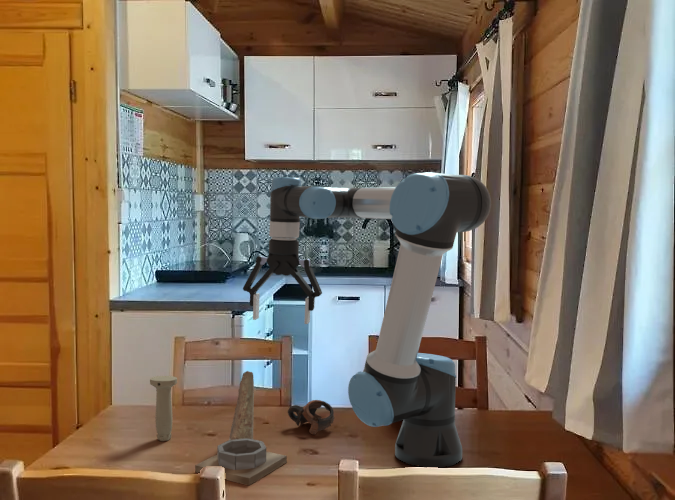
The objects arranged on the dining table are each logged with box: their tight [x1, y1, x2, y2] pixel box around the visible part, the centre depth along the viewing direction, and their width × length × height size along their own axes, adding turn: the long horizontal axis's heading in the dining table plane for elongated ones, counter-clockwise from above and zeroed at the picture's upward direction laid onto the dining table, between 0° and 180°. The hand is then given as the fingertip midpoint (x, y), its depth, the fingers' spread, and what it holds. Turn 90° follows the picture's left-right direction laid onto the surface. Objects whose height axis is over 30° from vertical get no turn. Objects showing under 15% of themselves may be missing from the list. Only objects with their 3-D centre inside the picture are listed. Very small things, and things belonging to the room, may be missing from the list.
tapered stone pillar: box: [229, 370, 255, 440], centre depth 156 cm, size 6×18×6 cm
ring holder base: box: [194, 438, 288, 486], centre depth 142 cm, size 14×14×4 cm
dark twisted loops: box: [287, 399, 335, 435], centre depth 167 cm, size 12×10×8 cm
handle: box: [149, 375, 178, 442], centre depth 159 cm, size 5×6×15 cm
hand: (281, 321), depth 168 cm, fingers open, 13 cm apart
